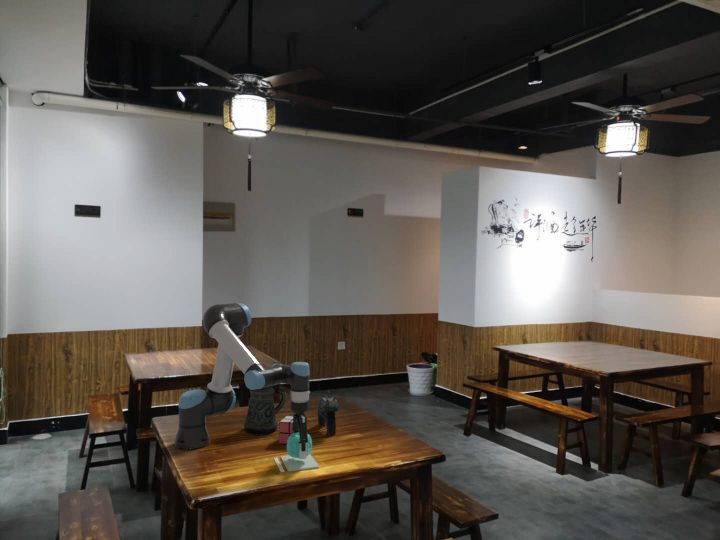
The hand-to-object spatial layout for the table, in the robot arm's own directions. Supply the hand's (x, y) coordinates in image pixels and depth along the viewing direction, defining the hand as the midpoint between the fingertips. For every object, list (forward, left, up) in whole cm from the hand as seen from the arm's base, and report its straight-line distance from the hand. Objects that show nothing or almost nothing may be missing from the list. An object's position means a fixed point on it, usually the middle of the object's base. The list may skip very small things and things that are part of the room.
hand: (299, 454), depth 224 cm
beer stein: (-7, +49, -4) cm, 50 cm away
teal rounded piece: (0, 0, 0) cm, 0 cm away
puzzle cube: (+3, +28, -4) cm, 28 cm away
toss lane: (-2, 0, -4) cm, 4 cm away
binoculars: (+22, +39, -4) cm, 45 cm away
